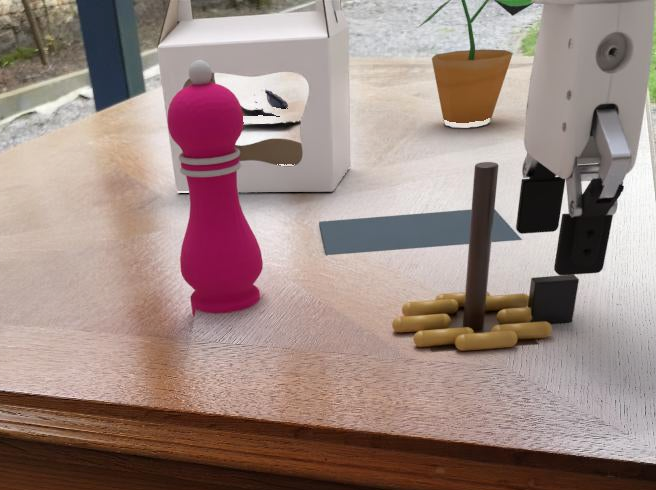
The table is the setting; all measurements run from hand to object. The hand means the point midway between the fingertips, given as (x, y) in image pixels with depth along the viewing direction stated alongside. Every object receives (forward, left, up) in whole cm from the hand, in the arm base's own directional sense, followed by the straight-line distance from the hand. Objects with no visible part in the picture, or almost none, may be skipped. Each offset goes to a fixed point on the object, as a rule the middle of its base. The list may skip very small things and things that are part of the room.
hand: (555, 250), depth 58 cm
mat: (+6, -25, -7) cm, 27 cm away
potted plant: (-12, -84, -7) cm, 85 cm away
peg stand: (+6, 0, -7) cm, 9 cm away
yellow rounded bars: (+6, 0, -6) cm, 8 cm away
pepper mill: (+26, -10, -7) cm, 28 cm away
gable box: (+22, -57, -7) cm, 62 cm away
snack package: (+20, -98, -7) cm, 100 cm away
